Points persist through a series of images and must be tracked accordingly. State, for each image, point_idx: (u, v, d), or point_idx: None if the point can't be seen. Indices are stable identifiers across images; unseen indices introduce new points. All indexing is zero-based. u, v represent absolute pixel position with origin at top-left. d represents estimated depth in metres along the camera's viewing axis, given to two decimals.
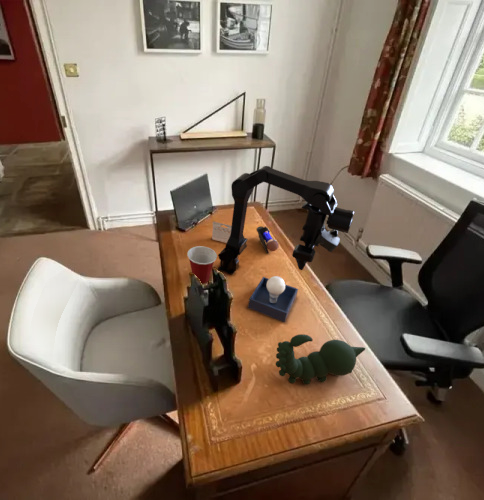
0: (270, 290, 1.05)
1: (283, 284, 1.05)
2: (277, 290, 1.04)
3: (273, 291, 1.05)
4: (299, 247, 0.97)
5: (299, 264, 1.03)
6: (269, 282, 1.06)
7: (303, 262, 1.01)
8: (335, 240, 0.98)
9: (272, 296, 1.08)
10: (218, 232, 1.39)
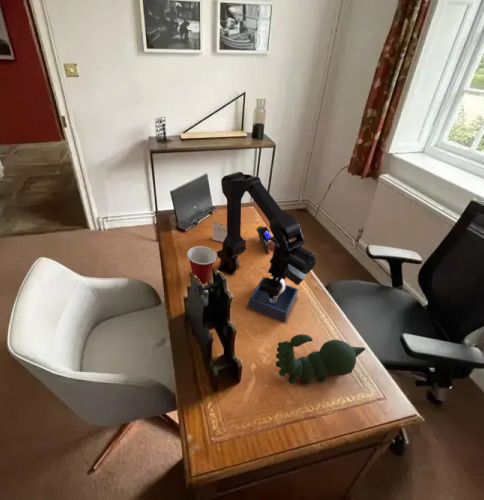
0: None
1: (283, 284, 1.05)
2: None
3: None
4: (266, 281, 0.99)
5: (269, 293, 1.05)
6: None
7: None
8: (302, 273, 1.00)
9: None
10: (218, 232, 1.39)
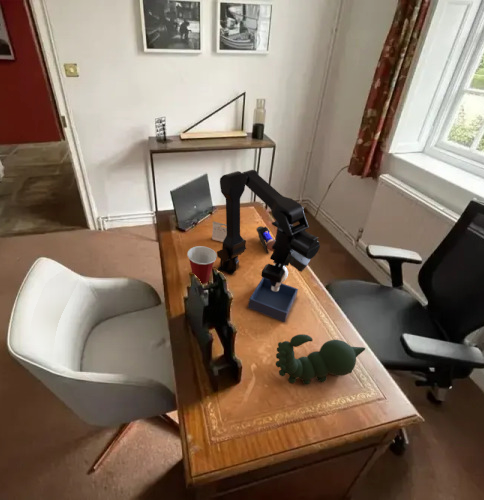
0: None
1: (286, 271, 1.02)
2: None
3: None
4: (268, 267, 0.95)
5: (271, 281, 1.01)
6: None
7: None
8: (305, 259, 0.96)
9: None
10: (218, 232, 1.39)
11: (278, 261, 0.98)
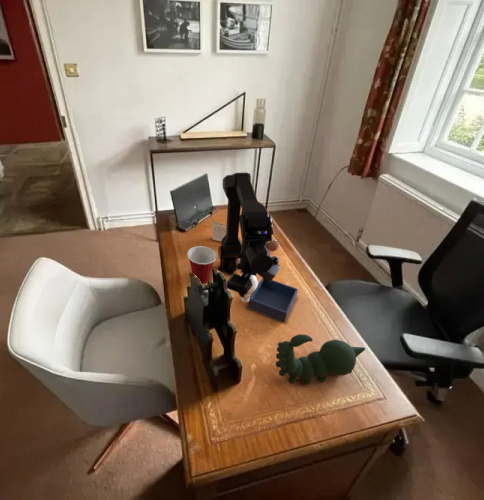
0: None
1: (255, 281, 0.94)
2: None
3: None
4: (233, 277, 0.88)
5: None
6: None
7: None
8: (274, 269, 0.89)
9: None
10: (218, 232, 1.39)
11: (245, 271, 0.91)
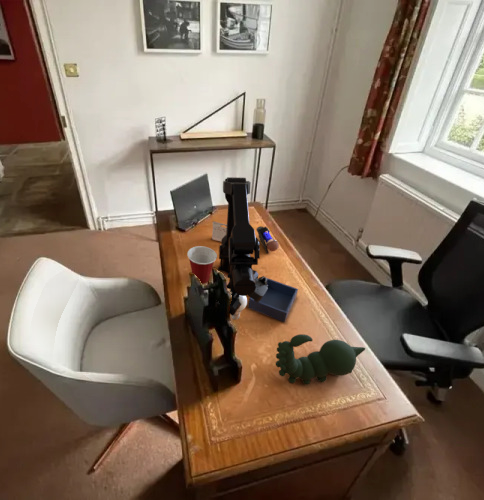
0: None
1: (244, 300, 0.97)
2: None
3: None
4: None
5: None
6: None
7: None
8: (262, 289, 0.91)
9: None
10: (218, 232, 1.39)
11: (234, 290, 0.93)
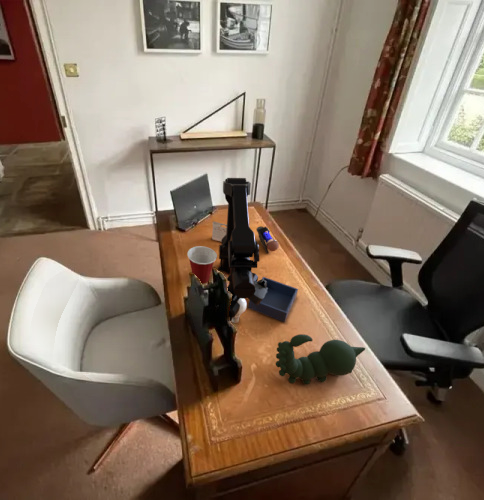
0: None
1: (243, 303, 0.98)
2: None
3: None
4: None
5: None
6: None
7: None
8: (261, 292, 0.92)
9: None
10: (218, 232, 1.39)
11: (234, 293, 0.93)
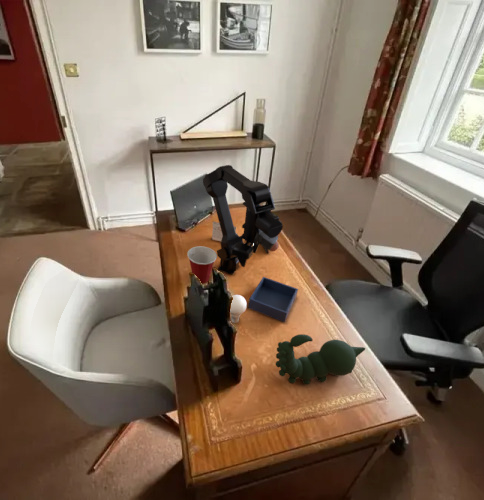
0: (230, 310, 0.98)
1: (243, 303, 0.98)
2: (236, 310, 0.97)
3: (233, 311, 0.98)
4: (237, 245, 1.01)
5: (240, 261, 1.06)
6: None
7: (243, 259, 1.05)
8: (273, 239, 1.02)
9: (233, 316, 1.01)
10: (218, 232, 1.39)
11: (248, 240, 1.04)
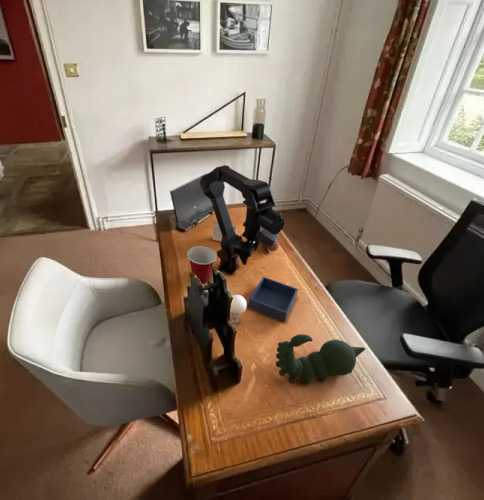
0: (230, 310, 0.98)
1: (243, 303, 0.98)
2: (236, 310, 0.97)
3: (233, 311, 0.98)
4: (239, 243, 1.02)
5: (242, 259, 1.07)
6: None
7: (245, 257, 1.05)
8: (274, 236, 1.03)
9: (233, 316, 1.01)
10: (218, 232, 1.39)
11: (249, 238, 1.04)
